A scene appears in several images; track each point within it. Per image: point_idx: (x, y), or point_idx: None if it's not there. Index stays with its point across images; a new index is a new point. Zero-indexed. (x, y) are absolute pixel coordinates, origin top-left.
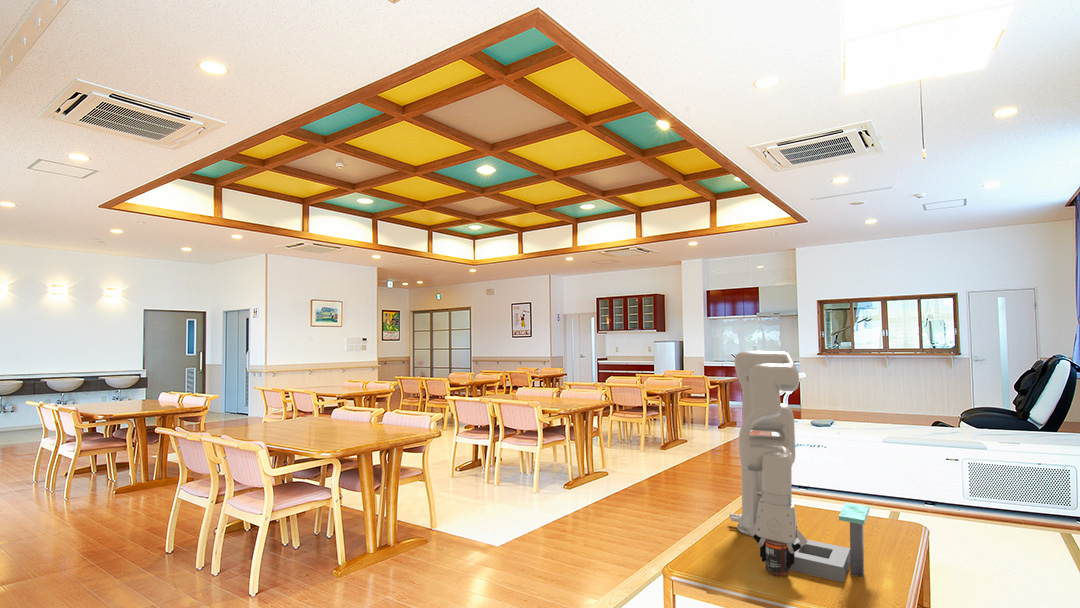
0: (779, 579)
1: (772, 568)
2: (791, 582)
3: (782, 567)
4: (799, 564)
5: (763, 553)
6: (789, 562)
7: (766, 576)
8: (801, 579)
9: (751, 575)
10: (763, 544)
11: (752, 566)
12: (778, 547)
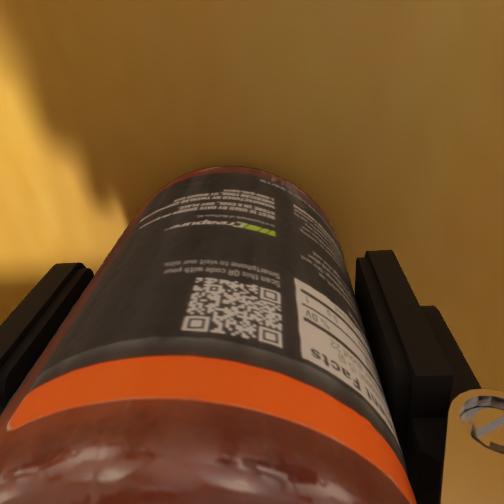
0: (173, 138)
1: (243, 185)
2: (59, 144)
3: (129, 227)
4: None
5: (395, 309)
6: (32, 298)
7: (302, 125)
8: (31, 263)
9: (456, 38)
10: (443, 449)
11: (471, 268)
12: (56, 399)
